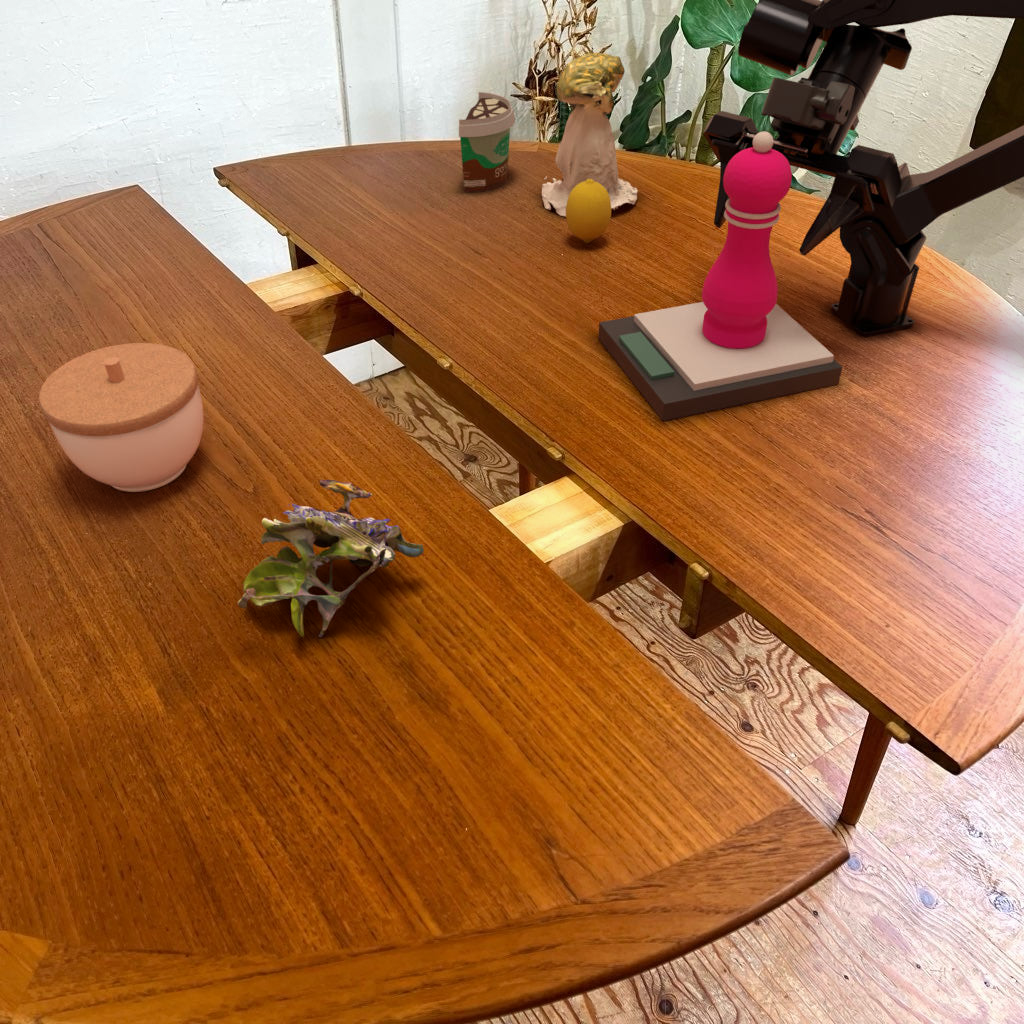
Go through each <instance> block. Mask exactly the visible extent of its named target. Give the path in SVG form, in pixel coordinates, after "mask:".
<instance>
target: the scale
mask: <svg viewBox="0 0 1024 1024" xmlns="http://www.w3.org/2000/svg"><path fill="white" fill-rule="evenodd" d="M707 310H708V309H707V308H706V306H705V305H704V302H703V301H700V302H695V303H687V304H683V305H678V306H673V307H667V308H662V309H656V310H650V311H644V312H639V313H635V314H633V315H631V316H625V317H621V318H616V319H610V320H605V321H604V320H603V321H599V323H598V341H600V343H601V344H602V346H603V347H604V348H605V350H607V352H608V353H609V354H610V356H611V357H612V358H613V359H614V361H615V362H616V363H617V365H618V366H619V367H620V368H621V369H622V371H623V372H624V373H625V376H627V378H629V380H630V381H631V383H632V384H633V385H634V386H635V388H636V389H637V390H638V392H639V393H640V394H641V395H642V397H643V398H644V399H645V400H646V402H647V403H648V404H649V406H650V407H651V408H652V409H653V411H654V412H655V413H656V415H657V416H658V417H659V419H660V420H661V421H662V422H665V421H671V420H675V419H679V418H680V419H681V418H684V417H689V416H694V415H699V414H703V413H708V412H712V411H713V412H714V411H717V410H722V409H727V408H732V407H737V406H742V405H747V404H751V403H755V402H760V401H765V400H769V399H774V398H780V397H784V396H788V395H793V394H797V393H803V392H807V391H811V390H817V389H821V388H826V387H830V386H835V385H839V384H840V383H839V382H840V378H841V375H842V371H843V366H842V365H841V364H840V363H839V362H838V361H836V359H834V358H835V355H834V354H833V353H832V352H831V351H829V349H827V348H826V347H825V346H824V345H823V344H822V343H821V342H820V341H819V340H818V339H816V338H815V337H814V335H812V334H811V333H810V332H809V331H807V330H806V329H805V328H804V327H803V326H802V325H801V324H800V323H799V322H797V321H796V320H795V319H794V318H793V317H791V316H790V314H789V313H787V312H786V311H785V310H784V309H783V308H782V307H781V306H779V304H778V303H776V304H775V307H774V308H773V309H772V311H771V312H770V313H768V314H767V315H766V317H767V328H766V334H765V338H764V339H763V341H762V342H760V343H759V344H757V345H755V346H753V347H749V348H742V349H734V348H726V347H722V346H719V345H716V344H714V343H712V342H710V341H709V340H708V339H707V338H706V337H705V336H704V334H703V332H702V327H703V319H704V314H705V312H706V311H707Z"/></svg>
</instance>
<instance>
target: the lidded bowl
mask: <svg viewBox="0 0 1024 1024" xmlns="http://www.w3.org/2000/svg"><path fill="white" fill-rule="evenodd" d="M195 365H196V364H195V363H194V361H193V360H192V359H191V357H189V355H187V354H186V353H184V352H183V351H181V350H179V349H178V348H175V347H172V346H169V345H166V344H160V343H152V342H151V343H150V342H131V343H122V344H115V345H110V346H105V347H101V348H99V349H94V350H92V351H89V352H86V353H84V354H81V355H79V356H76V357H74V358H72V359H71V360H68V361H67V362H65V363H64V364H62V365H61V366H59V367H58V368H57V369H55V370H54V371H53V372H52V373H51V374H50V375H49V376H48V377H47V378H46V379H45V381H44V382H43V384H42V386H41V388H40V391H39V392H38V403H39V407H40V410H41V412H42V414H43V416H44V418H45V419H46V420H47V422H48V424H49V427H50V430H51V431H52V434H53V436H54V438H55V440H56V441H57V443H58V444H59V446H60V448H61V450H62V451H63V452H64V454H65V455H66V457H67V458H68V460H69V461H70V462H71V463H72V464H73V465H74V466H75V467H76V468H77V469H78V470H80V471H81V472H82V473H83V474H84V475H86V476H88V477H90V478H91V479H93V480H94V481H97V482H100V483H102V484H105V485H108V486H111V487H112V488H113V489H116V490H118V491H122V492H127V493H128V492H129V493H139V492H147V491H151V490H155V489H158V488H161V487H164V486H165V485H168V484H169V483H172V482H173V481H175V480H176V479H177V478H178V477H179V476H181V474H182V473H183V472H184V471H185V470H186V468H187V465H188V463H190V462H191V460H192V458H193V457H194V455H195V454H196V452H197V450H198V448H199V445H200V443H201V441H202V438H203V437H202V436H203V431H204V417H205V414H204V407H203V406H204V405H203V400H202V399H203V398H202V395H201V391H200V386H199V378H198V372H197V368H196V366H195Z"/></svg>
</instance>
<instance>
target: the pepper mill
mask: <svg viewBox="0 0 1024 1024" xmlns="http://www.w3.org/2000/svg"><path fill="white" fill-rule="evenodd" d="M773 138H774V137H773V135H772V134H771V133H770V132H768V131H765V130H764V131H758V134H756V136H755V137H754V139H753V147H752V148H747V149H744V150H742V151H740V152H739V153H737V154H736V155H735V156H733V158H732V159H731V160H730V161H729V163H728V165H727V167H726V169H725V173H724V177H723V186H724V189H725V192H726V194H727V195H728V197H729V199H728V200H727V201H726V204H725V207H726V210H725V212H724V217H725V219H726V222H727V234H726V238H725V241H724V245H723V247H722V250H721V252H720V253H719V255H718V257H717V258H716V260H715V261H714V263H713V264H712V265H711V267H710V269H709V270H708V272H707V275H706V276H705V279H704V282H703V286H702V291H701V299H702V302H704V305H705V306H706V308H707V309H708V310H707V311H706V312H705V314H704V319H703V327H702V332H703V334H704V336H705V337H706V338H707V339H708V340H709V341H710V342H712V343H714V344H716V345H719V346H722V347H726V348H734V349H742V348H749V347H753V346H755V345H757V344H759V343H760V342H762V341H763V339H764V338H765V334H766V328H767V317H766V315H767V314H768V313H770V312H771V311H772V309H773V308H774V307H775V304H777V301H778V291H779V290H778V289H779V287H778V280H777V276H776V271H775V268H774V266H773V263H772V259H771V255H770V239H771V234H772V231H773V227H774V226H775V225H776V224H778V222H779V220H780V213H781V211H782V206H781V203H780V202H781V201H782V200H783V199H785V197H786V196H787V195H788V192H789V191H790V189H791V185H792V180H793V178H792V177H793V174H792V173H793V172H792V166H791V165H790V164H789V162H788V160H787V159H786V158H785V156H784V155H783V154H781V153H780V152H778V151H776V150H774V149H771V148H772V146H773Z"/></svg>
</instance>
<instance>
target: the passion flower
mask: <svg viewBox="0 0 1024 1024" xmlns="http://www.w3.org/2000/svg"><path fill="white" fill-rule="evenodd" d="M318 484H319V485H320V486H321V487H322V488H324V489H327V490H330V491H332V492H333V493H335V494H336V493H337V494H340V495H341V496H342V497H343V504H342V506H340V507H339V508H338V509H336V510H333V511H329V510H327V511H326V510H324V509H319V508H314V507H311V506H306V505H305V506H303V505H298V504H295V503H294V502H291V507H292V508H293V510H289V509H287V510H285V511H283V512H282V514H284V515H285V516H286V515H287V519H288V520H289V521H290V522H282V521H281V520H278V519H276V518H274V519H273V520H271V519H269V518H267V517H263V518H262V520H261V526H263V528H264V529H265V531H264V532H263V533H262V535H261V539H260V544H261V545H265V544H268V543H275V542H278V543H282V542H287V543H290V544H291V545H292V546H294V547H295V548H296V549H297V551H298V553H299V555H300V557H299V556H298V554H297V553H296V551H294V550H293V549H292V547H289V546H288V545H287V546H283V547H281V548H280V550H278V551H277V554H276V556H275V555H269V556H267V557H266V558H263V559H261V561H260V562H259V563H257V565H256V566H254V567H253V569H250V570H249V572H248V573H247V575H246V577H245V579H244V581H243V582H242V588H243V595H242V597H241V598H240V599H239V600H238V601H237V606H238V607H240V608H241V609H246V608H247V606H248V601H249V600H250V601H251V602H252V603H253V604H254V606H257V607H265V606H267V605H272V604H273V603H277V602H279V601H282V600H289V599H291V602H290V611H291V622H292V624H293V627H294V629H295V630H296V632H297V633H298V634H299V635H300V636H301V637H305V631H304V628H305V627H304V611H305V608H306V606H307V604H309V602H310V601H315V602H316V603H317V611H318V613H319V614H320V615H321V617H322V621H323V622H322V628H321V630H320V632H319V634H318V638H323V636H324V634H325V632H326V630H327V629H328V627H329V625H330V622H331V620H332V619H333V616H334V615H335V613H336V611H337V610H338V609H340V608H341V607H342V606H344V605H345V603H346V600H347V599H346V598H347V597H348V596H349V594H350V593H351V591H353V590H354V589H355V588H356V587H358V585H359V584H361V582H363V580H365V579H366V577H368V576H370V574H371V573H373V572H374V571H376V570H377V569H378V568H380V567H381V568H384V569H385V568H387V567H388V566H389V564H390V563H393V562H394V561H395V558H396V552H399V553H401V554H402V555H404V556H406V557H408V558H418V557H420V556H421V555H423V554H424V552H425V550H424V546H423V543H422V544H418V543H414V542H413V543H411V542H408V541H406V539H405V538H404V536H403V533H402V530H401V527H400V526H398V525H397V524H396V525H391V526H389V525H387V524H388V523H389V522H390V521H391V519H390V518H385V519H375V518H374V517H369V516H368V517H365V518H356V517H355V516H354V515H353V514H352V512H351V510H350V505H351V502H352V501H353V500H354V499H365V500H367V499H369V498H370V497H372V496H373V493H372V492H367V491H366V490H365V489H364V490H363V489H362V488H360V487H359V486H356V485H354V484H353V482H342V481H338V480H334V479H321V480H319V482H318ZM287 506H290V504H289V503H288V504H287ZM314 546H315V547H317V548H322V549H323V550H321V552H320V553H318V554H316V553H315V551H314ZM334 560H348V561H349V563H350V564H353V565H355V566H358V567H359V568H363V567H365V566H370V568H369V569H368V570H367V571H366V572H364V573H363V574H361V575H360V576H359V577H357V579H356V580H355V581H354V582H353V583H352V584H350V585H349V586H348V587H347V588H346V589H345V590H343V591H337V590H334V589H335V588H334V586H333V579H334V576H333V562H334ZM327 563H329V576H328V577H329V578H328V582H326V583H323V582H322V581H321V580H320V578H319V577H318V576H317V570H318V569H319V568H320V567H322V566H323V565H325V564H327ZM313 587H317V588H320V589H321V590H323V591H324V592H325V593H326V594H327V595H325V594H324V595H323V594H322V595H321V594H320V595H318V594H311V593H310V592H309V589H310V588H313Z"/></svg>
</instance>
